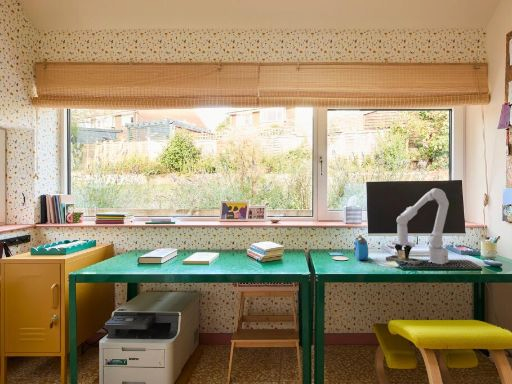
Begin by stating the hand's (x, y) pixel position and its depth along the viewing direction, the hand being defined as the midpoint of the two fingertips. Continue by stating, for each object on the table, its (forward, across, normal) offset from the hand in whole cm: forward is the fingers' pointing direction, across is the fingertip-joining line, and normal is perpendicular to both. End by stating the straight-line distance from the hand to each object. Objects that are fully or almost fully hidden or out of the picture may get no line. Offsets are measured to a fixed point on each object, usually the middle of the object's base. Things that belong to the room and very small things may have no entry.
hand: (403, 257), depth 217 cm
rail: (+3, 0, 0) cm, 3 cm away
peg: (+3, 0, 0) cm, 3 cm away
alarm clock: (+3, -22, -12) cm, 25 cm away
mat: (+3, 0, -9) cm, 9 cm away
